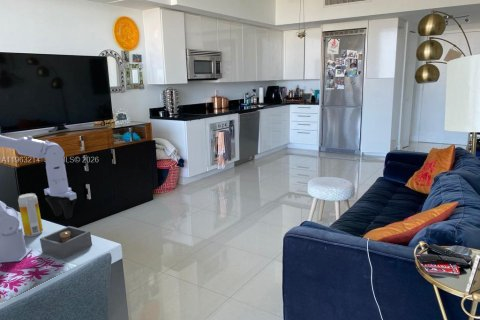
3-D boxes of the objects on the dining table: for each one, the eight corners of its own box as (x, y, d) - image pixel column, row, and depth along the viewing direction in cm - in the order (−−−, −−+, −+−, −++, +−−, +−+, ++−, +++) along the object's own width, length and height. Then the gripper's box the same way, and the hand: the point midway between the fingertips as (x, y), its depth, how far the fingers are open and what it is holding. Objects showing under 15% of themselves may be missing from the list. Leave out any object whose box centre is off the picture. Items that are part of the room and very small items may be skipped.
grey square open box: (42, 252, 122) (39, 238, 121) (71, 238, 131) (69, 226, 130) (63, 259, 117) (61, 244, 115) (92, 244, 126) (90, 231, 125)
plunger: (48, 249, 122) (46, 235, 121) (69, 239, 129) (67, 226, 128) (64, 254, 118) (62, 240, 117) (85, 243, 125) (83, 230, 124)
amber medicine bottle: (39, 228, 141) (32, 191, 138) (46, 232, 138) (39, 194, 134) (22, 234, 137) (14, 196, 133) (28, 238, 133) (21, 199, 130)
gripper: (81, 177, 123) (87, 215, 126) (55, 173, 130) (61, 209, 133) (62, 183, 117) (69, 223, 120) (35, 178, 124) (42, 216, 127)
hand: (63, 216), depth 126 cm, fingers open, 5 cm apart
